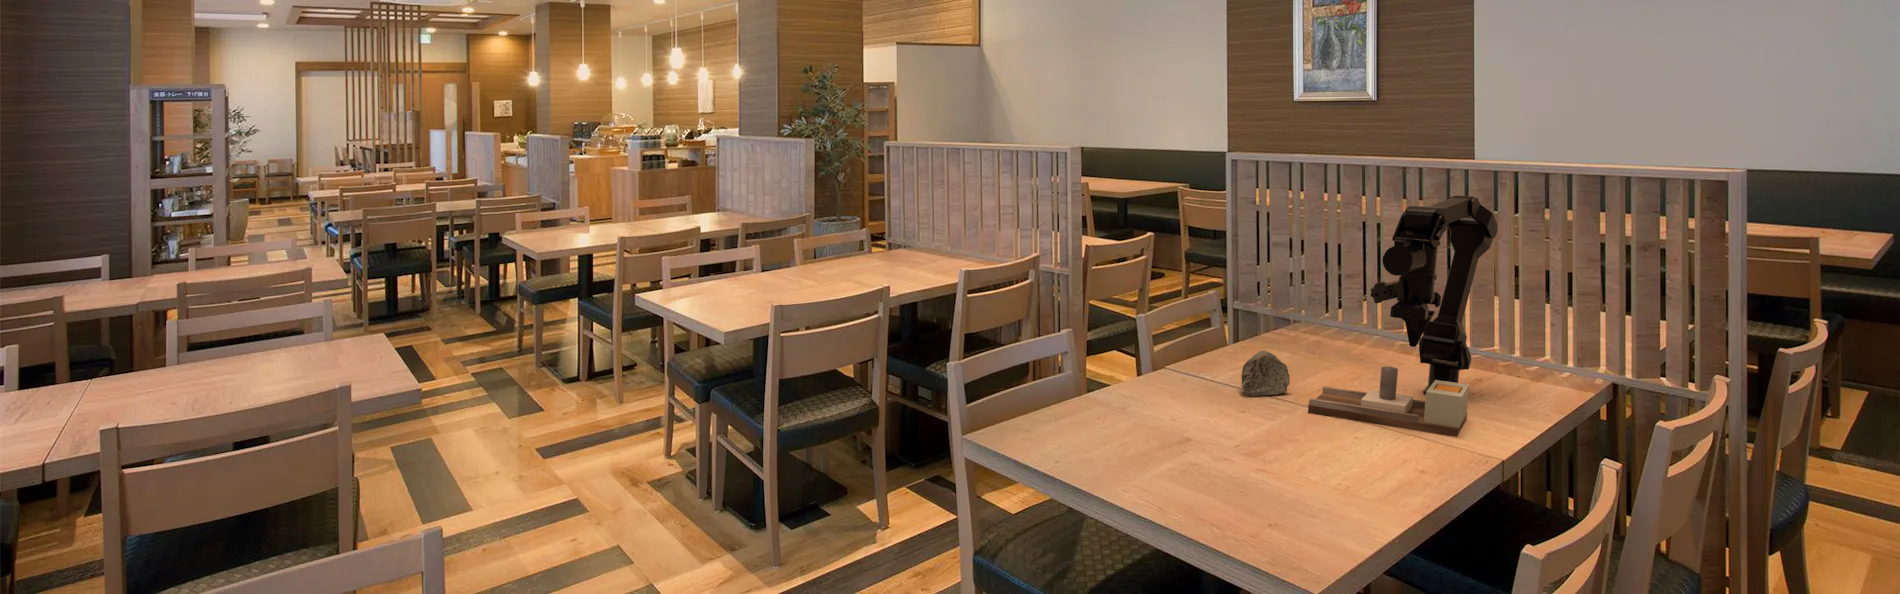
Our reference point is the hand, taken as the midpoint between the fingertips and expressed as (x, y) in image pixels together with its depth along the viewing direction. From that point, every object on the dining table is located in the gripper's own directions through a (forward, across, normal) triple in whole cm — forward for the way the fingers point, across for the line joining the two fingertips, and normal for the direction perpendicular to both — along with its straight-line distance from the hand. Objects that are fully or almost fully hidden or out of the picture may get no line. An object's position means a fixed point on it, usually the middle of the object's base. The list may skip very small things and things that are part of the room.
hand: (1412, 346), depth 196 cm
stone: (+13, +4, -28) cm, 31 cm away
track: (+13, +8, -2) cm, 15 cm away
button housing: (+12, +8, +8) cm, 16 cm away
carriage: (+11, +8, -3) cm, 14 cm away
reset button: (+11, +8, +8) cm, 15 cm away
